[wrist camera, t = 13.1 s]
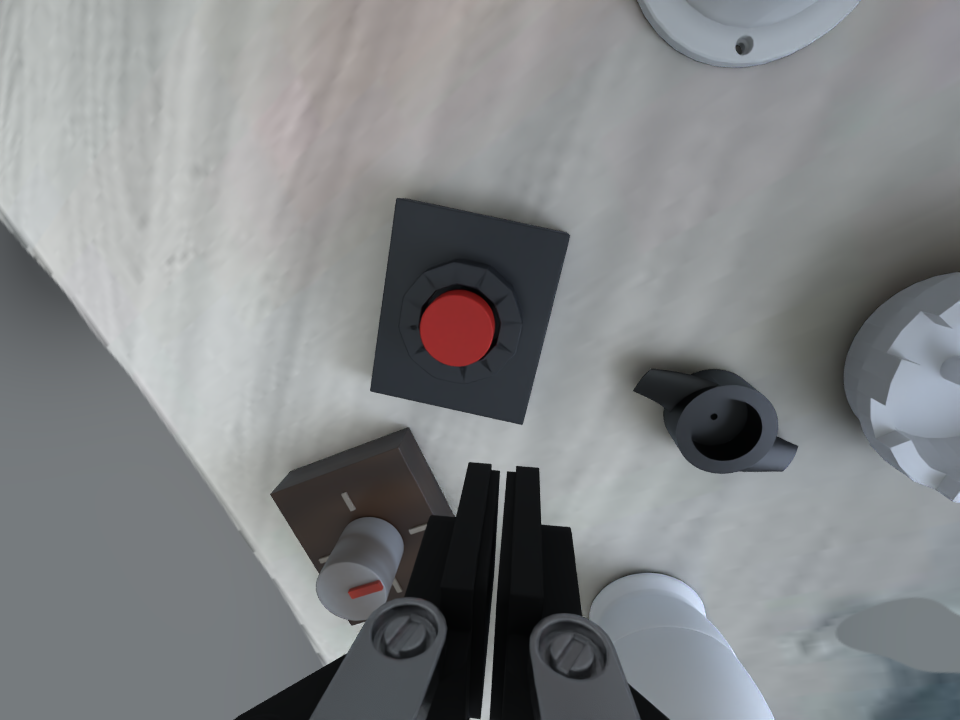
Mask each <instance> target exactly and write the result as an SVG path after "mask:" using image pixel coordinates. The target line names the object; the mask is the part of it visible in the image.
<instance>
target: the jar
mask: <svg viewBox="0 0 960 720" xmlns="http://www.w3.org/2000/svg"><path fill="white" fill-rule="evenodd" d="M589 620H591V621H592V622H594V623H595V624H597V625H599V626H600V627H601V628H602V629H603V630H604V631H605V632H606V633H607V634H608V636H609V637H610V639H611V641H612V643H613V645H614V646H615V649H616V652H617V655H618V657H619V660H620V663H621V666H622V668H623V671H624V674H625V677H626V680H627V682H628V683H629V684H630V685H631V686H632V687H633V688H634V689H636V690H637V691H638V692H639V693H640V694H641V695H642V696H644V697H645V698H646V699H647V700H648V701H649V702H650V703H652V704H653V705H654V706H655V707H656V708H657V709H658V710H660V711H661V712H662V713H663V714H664V715H665V716H667V717H668V718H669V719H670V720H775V719H774V717H773V715H772V713H771V711H770V709H769V707H768V705H767V703H766V701H765V699H764V697H763V696H762V694H761V692H760V690H759V689H758V687H757V686H756V684H755V682H754V681H753V679H752V678H751V676H750V675H749V673H748V672H747V671H746V669H745V668H744V666H743V665H742V664H741V662H740V661H739V660H738V658H737V657H736V655H735V653H734V651H733V650H732V648H731V647H730V645H729V644H728V642H727V641H726V639H725V638H724V637H723V635H722V634H721V633H720V632H719V630H718V629H717V628H716V627H715V626H714V625H713V624H712V623H711V622H710V621H709V620H708V619H707V618H706V612H705V608H704V605H703V603H702V601H701V599H700V597H699V596H698V595H697V593H696V592H695V591H694V590H693V589H692V588H691V587H690V586H688V585H687V584H685V583H684V582H682V581H680V580H678V579H676V578H674V577H671V576H667V575H663V574H657V573H639V574H633V575H629V576H625V577H623V578H620V579H618V580H616V581H614V582H612V583H610V584H609V585H608V586H606V587H605V588H604V589H603V590H602V591H601V592H600V593H599V594H598V595H597V597H596V598H595V600H594V601H593V604H592V606H591V609H590V614H589Z"/></svg>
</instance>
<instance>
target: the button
mask: <svg viewBox="0 0 960 720" xmlns="http://www.w3.org/2000/svg"><path fill="white" fill-rule="evenodd" d="M494 331H495V319H494V315H493V312H492V310H491V308H490V306H489V305H488V304H487V302H486V301H485V300H484V299H483V298H482V297H480V296H479V295H477V294H475V293H473V292H471V291H467V290H451V291H448V292H445V293H443V294H441V295H440V296H438V297H437V298H436V299H435V300H434V301H433V302H432V303H431V304H430V305H429V306H428V307H427V309H426V310H425V312H424V313H423V316H422V318H421V322H420V336H421V340H422V343H423V345H424V347H425V349H426V350H427V351H428V353H429V354H430V355H431V356H432V357H433V358H435V359H436V360H437V361H439V362H441V363H443V364H446V365H449V366H466V365H470V364H472V363H474V362H476V361H478V360H479V359H481V358H482V357H483V356H484V355H485V354H486V352H487V351H488V349H489V348H490V345H491V343H492V339H493V335H494Z"/></svg>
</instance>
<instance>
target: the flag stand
mask: <svg viewBox="0 0 960 720" xmlns="http://www.w3.org/2000/svg"><path fill="white" fill-rule="evenodd" d="M844 389H845V393H846V397H847V400H848V403H849V405H850V406H851V408H852V410H853V412H854V414H855V415H856V416H857V417H858V418H859V420H860V424H861V428H862V430H863V432H864V434H865V436H866V438H867V439H868V441H869V443H870V445H871V446H872V447H873V449H874V450H875V451H876V452H877V453H878V454H879V455H880V456H881V457H882V458H883V459H884V460H885V461H886V462H888V463H889V464H890V465H892V466H893V467H895V468H896V469H897V470H899V471H900V472H902V473H903V474H904V475H906V476H907V477H909V478H910V479H911V480H913V481H915V482H917V483H920V484H923V485H925V486H928V487H930V488H933V489H935V490H937V491H938V492H940V493H941V494H943V495H944V496H946V497H947V498H948V499H950V500H951V501H953V502H958V503H960V272H955V273H950V274H944V275H939V276H934V277H932V278H929V279H926V280H923V281H921V282H918V283H915V284H913V285H911V286H909V287H908V288H906V289H904V290H902V291H900V292H898V293H897V294H895V295H894V296H892V297H891V298H890V299H889V300H887V301H886V302H885V303H883V304H882V305H881V306H880V307H878V308H877V310H876V311H875V312H874V313H873V314H872V315H871V316H870V317H869V318H868V319H867V320H866V321H865V322H864V324H863V325H862V327H861V328H860V330H859V331H858V333H857V334H856V336H855V337H854V340H853V342H852V344H851V347H850V349H849V351H848V354H847V358H846V362H845V367H844Z"/></svg>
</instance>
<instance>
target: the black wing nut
mask: <svg viewBox="0 0 960 720" xmlns="http://www.w3.org/2000/svg"><path fill="white" fill-rule="evenodd" d="M633 391H634V392H636V393H639V394H641V395H643V396H645V397H647V398H649V399H651V400H653V401H655V402H657V403H658V404H660V405H662V406H663V407H664V412H663V416H664V423H665V426H666V428H667V430H668V432H669V434H670V435H671V437H672V439H673V440H674V442H675V443H676V445H677V447H678V448H679V450H680V451H681V453H682V455H683V456H684V457H685V458H686V460H687V461H688V462H690V463H691V464H692V465H694V466H695V467H697V468H699V469H701V470H704V471H707V472H711V473H719V474H725V473H733V472H738V471H742V472H767V471H784V470H785V469H786V468H787V467H788V465H789V464H790V463H791V461H792V460H793V458H794V456H795V454H796V452H797V448H798V446H797V445H794V444H792V443H790V442H787V441H785V440H783V439H781V438H779V437H777V432H778V418H777V414H776V411H775V409H774V407H773V405H772V404H771V403H770V401H769V400H768V399H767V398H766V397H765V396H764V395H762V394H761V393H760V392H759V391H757V390H756V389H755V388H754V387H752V386H751V385H750V384H749V383H748V382H746V381H745V380H744V379H743V378H741V377H740V376H738V375H736V374H734V373H732V372H729V371H726V370H720V369H709V370H703V371H699V372H696V373H693V374H691V375H689V374H684V373H679V372H673V371H666V370H659V369H650V370H649V371H648V372H647V373H646V374H645V375H644V376H643V377H642V379H641V380H640V381H639V382H638V384H637V385H636V387H635V388H634V390H633Z"/></svg>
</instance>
